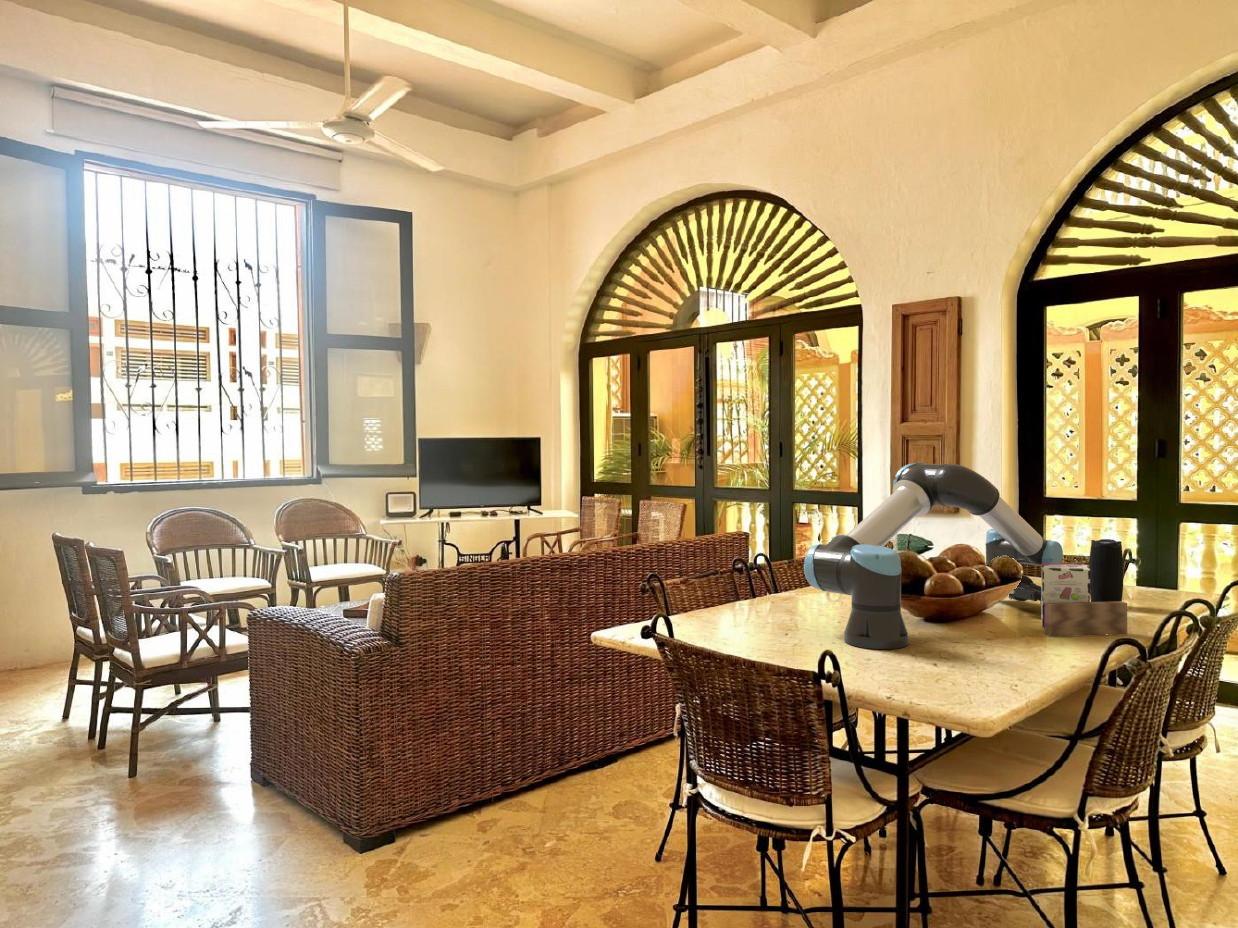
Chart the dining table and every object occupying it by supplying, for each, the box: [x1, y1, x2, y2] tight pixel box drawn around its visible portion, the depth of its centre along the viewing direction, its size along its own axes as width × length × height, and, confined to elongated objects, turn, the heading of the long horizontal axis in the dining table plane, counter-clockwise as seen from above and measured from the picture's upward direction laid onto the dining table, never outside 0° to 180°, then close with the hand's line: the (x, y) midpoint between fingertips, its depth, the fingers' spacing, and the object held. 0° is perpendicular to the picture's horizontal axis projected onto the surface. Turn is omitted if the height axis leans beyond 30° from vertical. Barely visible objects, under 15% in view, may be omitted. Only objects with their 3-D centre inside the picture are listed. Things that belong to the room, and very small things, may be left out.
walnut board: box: [1044, 600, 1128, 637], centre depth 219 cm, size 20×2×8 cm, turn 94°
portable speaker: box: [1088, 538, 1124, 602], centre depth 254 cm, size 9×9×20 cm
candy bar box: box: [1040, 563, 1091, 628], centre depth 226 cm, size 11×5×16 cm, turn 68°
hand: (1062, 601), depth 229 cm, fingers closed
